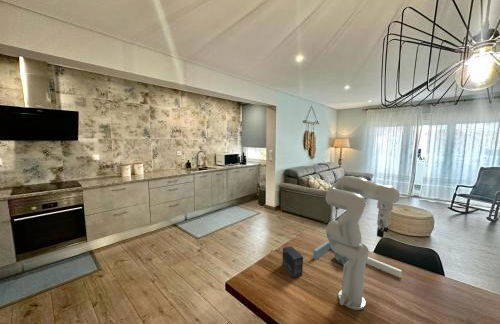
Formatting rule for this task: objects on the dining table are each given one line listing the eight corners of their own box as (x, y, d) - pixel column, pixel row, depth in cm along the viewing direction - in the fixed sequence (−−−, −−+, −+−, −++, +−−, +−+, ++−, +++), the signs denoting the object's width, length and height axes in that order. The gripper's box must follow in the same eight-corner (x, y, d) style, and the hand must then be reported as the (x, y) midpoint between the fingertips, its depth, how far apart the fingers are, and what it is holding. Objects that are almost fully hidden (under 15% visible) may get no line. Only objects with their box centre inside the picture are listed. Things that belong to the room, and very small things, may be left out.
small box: (302, 275, 127) (303, 256, 125) (293, 278, 124) (293, 259, 123) (290, 262, 139) (291, 245, 137) (281, 265, 136) (282, 247, 135)
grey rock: (355, 264, 132) (347, 248, 134) (341, 269, 134) (333, 254, 136) (350, 257, 145) (343, 243, 147) (337, 262, 147) (330, 248, 149)
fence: (389, 295, 111) (390, 285, 110) (313, 258, 144) (313, 250, 143) (401, 276, 126) (402, 267, 125) (329, 246, 159) (330, 238, 159)
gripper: (388, 211, 114) (385, 241, 116) (396, 204, 126) (393, 231, 128) (373, 208, 119) (370, 236, 121) (381, 201, 131) (379, 227, 133)
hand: (382, 234), depth 125 cm, fingers open, 9 cm apart
